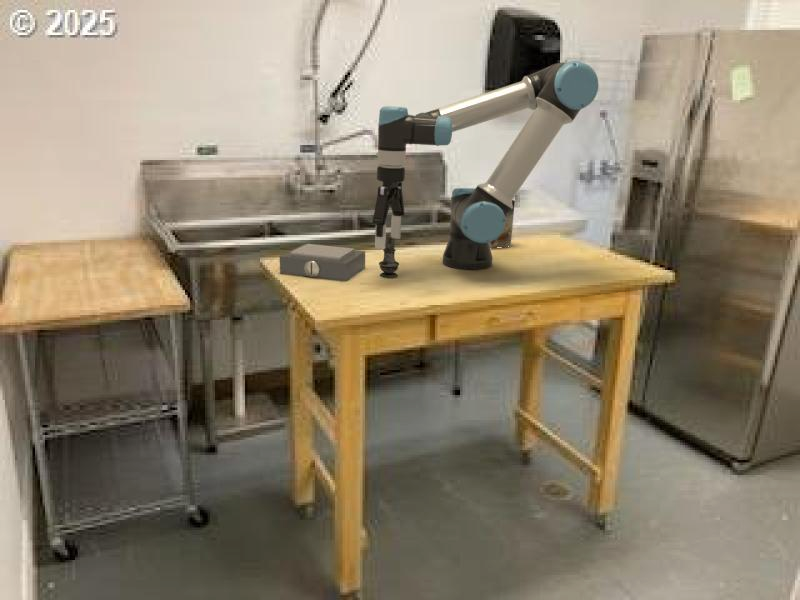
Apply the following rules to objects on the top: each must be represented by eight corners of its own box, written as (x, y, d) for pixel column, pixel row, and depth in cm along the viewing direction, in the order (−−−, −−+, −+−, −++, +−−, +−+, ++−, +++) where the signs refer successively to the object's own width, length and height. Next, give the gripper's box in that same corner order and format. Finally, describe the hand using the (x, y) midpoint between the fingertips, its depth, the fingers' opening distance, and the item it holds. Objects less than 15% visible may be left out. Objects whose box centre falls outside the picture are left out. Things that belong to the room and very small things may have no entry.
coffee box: (488, 249, 223) (492, 201, 218) (478, 245, 228) (481, 198, 223) (511, 247, 227) (515, 200, 222) (500, 243, 232) (504, 197, 227)
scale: (365, 267, 197) (365, 248, 195) (345, 281, 183) (345, 260, 181) (303, 260, 202) (302, 241, 201) (278, 274, 188) (278, 253, 186)
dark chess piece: (400, 273, 192) (401, 232, 189) (398, 279, 187) (399, 236, 183) (379, 272, 193) (380, 231, 189) (377, 277, 187) (377, 235, 184)
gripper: (392, 160, 193) (389, 233, 199) (361, 169, 170) (359, 251, 177) (417, 162, 191) (413, 235, 197) (389, 172, 168) (386, 254, 174)
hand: (388, 243), depth 187 cm, fingers open, 13 cm apart
